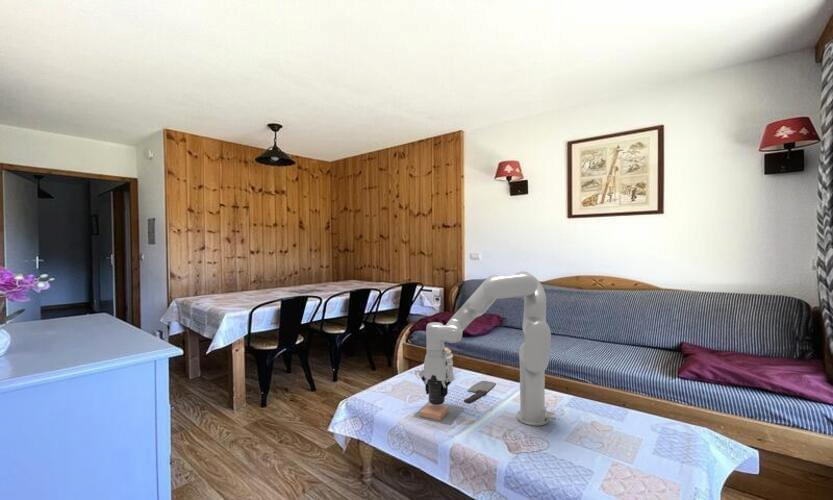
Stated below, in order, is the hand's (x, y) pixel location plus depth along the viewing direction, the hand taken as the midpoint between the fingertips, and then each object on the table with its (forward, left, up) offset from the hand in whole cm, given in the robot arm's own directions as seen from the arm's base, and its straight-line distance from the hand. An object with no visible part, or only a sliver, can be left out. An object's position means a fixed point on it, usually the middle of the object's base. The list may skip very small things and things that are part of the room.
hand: (436, 394), depth 160 cm
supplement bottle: (0, 0, -3) cm, 3 cm away
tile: (0, -3, -7) cm, 7 cm away
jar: (+15, -39, -9) cm, 43 cm away
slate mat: (-1, -1, -8) cm, 9 cm away
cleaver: (-8, -29, -9) cm, 31 cm away
